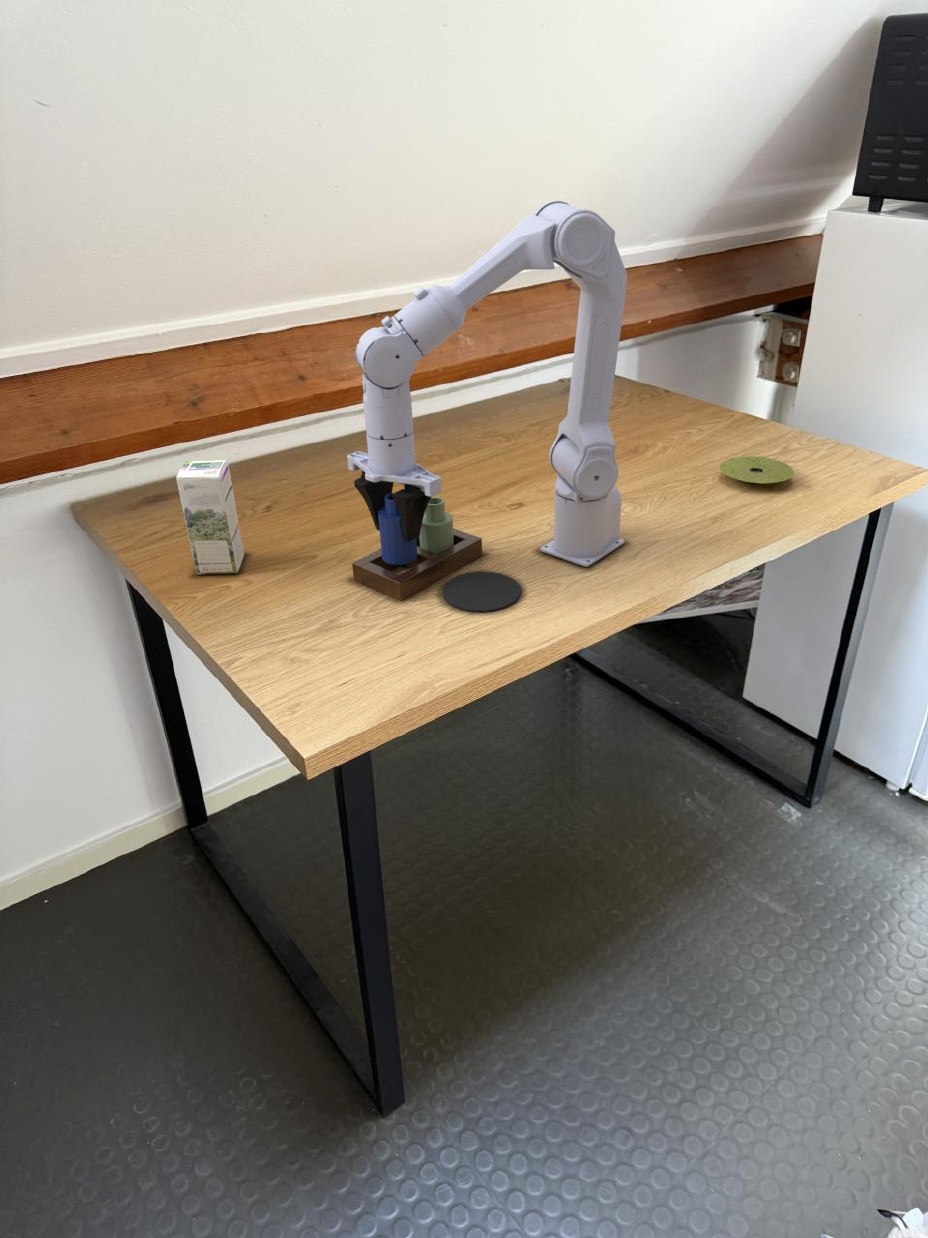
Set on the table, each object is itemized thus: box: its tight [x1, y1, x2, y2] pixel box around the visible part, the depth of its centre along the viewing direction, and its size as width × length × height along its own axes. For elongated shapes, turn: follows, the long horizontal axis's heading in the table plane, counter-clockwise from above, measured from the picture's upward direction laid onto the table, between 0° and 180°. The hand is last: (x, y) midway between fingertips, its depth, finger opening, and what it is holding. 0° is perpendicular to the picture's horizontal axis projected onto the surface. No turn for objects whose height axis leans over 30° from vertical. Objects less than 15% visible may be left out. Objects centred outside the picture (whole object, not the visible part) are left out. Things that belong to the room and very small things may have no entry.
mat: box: [719, 455, 795, 484], centre depth 144 cm, size 11×11×2 cm
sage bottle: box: [419, 496, 454, 554], centre depth 123 cm, size 5×5×8 cm
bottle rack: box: [351, 527, 483, 601], centre depth 122 cm, size 9×16×3 cm, turn 139°
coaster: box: [442, 571, 522, 613], centre depth 116 cm, size 10×10×1 cm
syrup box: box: [175, 459, 245, 576], centre depth 121 cm, size 6×6×14 cm
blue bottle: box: [378, 492, 417, 566], centre depth 117 cm, size 5×5×8 cm
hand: (397, 533), depth 117 cm, fingers closed on blue bottle, 4 cm apart
